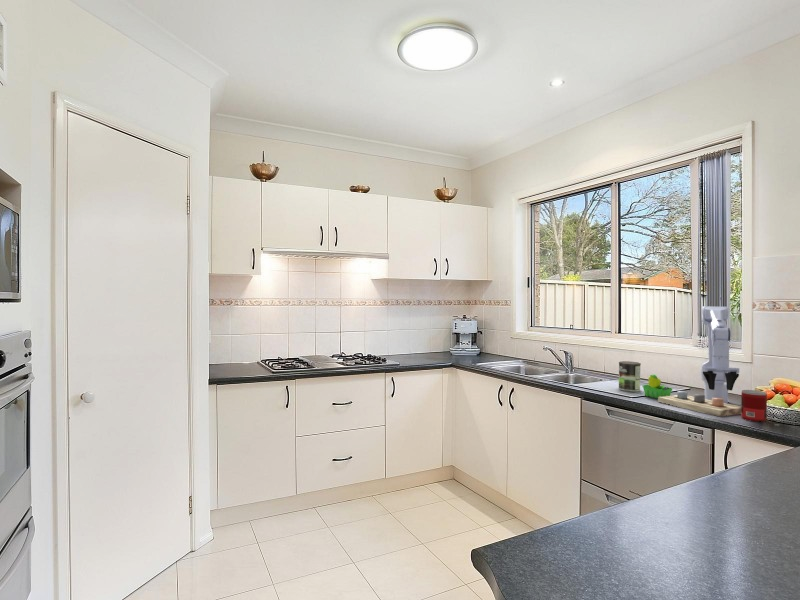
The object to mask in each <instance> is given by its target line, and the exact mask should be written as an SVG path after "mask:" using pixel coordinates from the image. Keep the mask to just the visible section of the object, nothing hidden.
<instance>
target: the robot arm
mask: <svg viewBox="0 0 800 600" xmlns="http://www.w3.org/2000/svg"><path fill="white" fill-rule="evenodd" d="M728 319H729V308H728V306H705V305H704V306H702V307H701V322H702V324H703V325H704V326H706V328H707V330H708V331H707V333H708V334H707V335H708V336H707V337H708V339H707V340H708V344H707V345H708V346H707V347H708V348H707V349H708V359H707V361H705V362H704V363H702V364H701V369H700V370H701V371H700V374H701V375H700V378H701V381H702V382H704V395H705V399H707V400H712V398H722V399H724V403H727V404H729V403H730V402H731V401H730V400H729V391H733V390H734V389H733V388H734V385H735V382H736V381H737V379H738V378H739V377H740V374H739V373H740V368H739V367H730V342H731V337H732V333H731V328H730V327H728V324H727V323H728ZM728 402H729V403H728Z"/></svg>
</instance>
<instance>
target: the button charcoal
mask: <svg viewBox="0 0 800 600" xmlns="http://www.w3.org/2000/svg"><path fill="white" fill-rule="evenodd" d="M693 395H694V396H693V397H694V402H696V403H701V404H702V403H705V394H700V393H699V394H698V393H695V394H693Z"/></svg>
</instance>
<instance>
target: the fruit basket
mask: <svg viewBox="0 0 800 600" xmlns="http://www.w3.org/2000/svg"><path fill="white" fill-rule="evenodd" d="M661 384H662V380H661V379H660V378H659V377H658V376H657V375H656V374H654V373H653V374H651V375H649V376H648V384H642V388H643V392H644V395H646V396H645V397H648V396H650V398H653V397H655V398H654V399H657V398H658V397H663V396H671V394H672V391H673V390H674V389H673V388H672V387H668V386H665V385H664V384H662V385H661Z"/></svg>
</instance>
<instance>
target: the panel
mask: <svg viewBox="0 0 800 600" xmlns="http://www.w3.org/2000/svg"><path fill="white" fill-rule="evenodd" d="M659 402H662V403H661V404H663V403H666V404H665V405H668V404H670V405H669V406H672V405H673V406H672V407H676V406H677V408H681V409H686V410H689V411H693V412H694V411H695V412H699V413H704V414H708V415H711V416H716V417H727V416H733V414H734V415H740V413H741V406H740V405H737V404H731V403H724V407H721V408H720V407H715V406H712V400H707V399H705V403H702V404H701V403H696V402H694V396H692V395H688V399H686V400H682V399H678V398H677V394H674V395H670V396H663V397H658V399H657V403H659ZM726 415H727V416H726Z"/></svg>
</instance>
